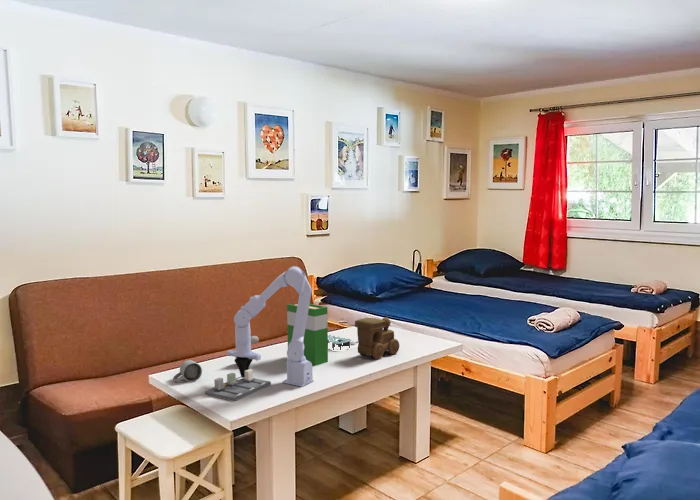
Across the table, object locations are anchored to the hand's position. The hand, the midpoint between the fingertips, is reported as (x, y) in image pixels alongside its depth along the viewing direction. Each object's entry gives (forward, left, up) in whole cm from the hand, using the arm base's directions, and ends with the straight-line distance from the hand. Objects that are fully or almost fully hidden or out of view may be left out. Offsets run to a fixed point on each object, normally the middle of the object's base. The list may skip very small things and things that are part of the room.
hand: (244, 376), depth 212 cm
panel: (-3, +7, -3) cm, 8 cm away
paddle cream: (-2, 0, -1) cm, 3 cm away
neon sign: (-2, -70, -3) cm, 70 cm away
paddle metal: (0, +13, -1) cm, 13 cm away
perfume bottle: (+15, -19, -3) cm, 25 cm away
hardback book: (-4, -37, -3) cm, 37 cm away
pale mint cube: (0, +6, -1) cm, 7 cm away
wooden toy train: (-27, -59, -3) cm, 65 cm away
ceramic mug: (+22, +8, -3) cm, 24 cm away
